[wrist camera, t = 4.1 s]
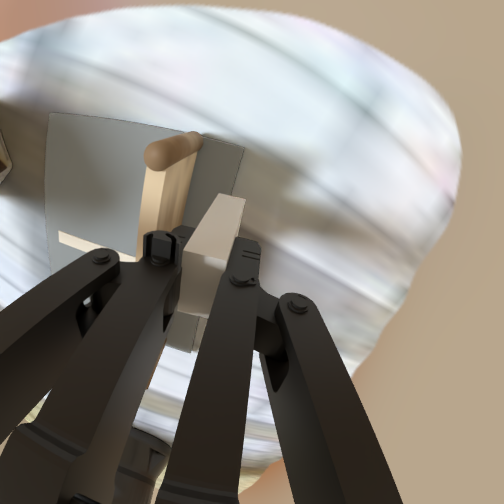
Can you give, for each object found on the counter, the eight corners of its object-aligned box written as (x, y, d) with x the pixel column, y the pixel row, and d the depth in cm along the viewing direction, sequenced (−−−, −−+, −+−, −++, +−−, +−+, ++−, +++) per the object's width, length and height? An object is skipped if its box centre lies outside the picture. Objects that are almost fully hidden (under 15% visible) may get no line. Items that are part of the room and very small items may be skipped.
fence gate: (176, 266, 21) (150, 316, 16) (160, 261, 21) (129, 308, 16) (205, 133, 16) (174, 144, 11) (185, 129, 16) (146, 138, 11)
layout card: (191, 350, 26) (190, 354, 26) (58, 298, 25) (55, 301, 25) (244, 147, 17) (243, 148, 17) (52, 112, 16) (48, 113, 15)
